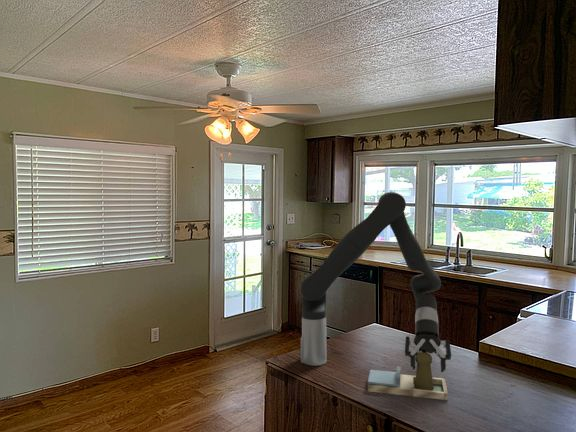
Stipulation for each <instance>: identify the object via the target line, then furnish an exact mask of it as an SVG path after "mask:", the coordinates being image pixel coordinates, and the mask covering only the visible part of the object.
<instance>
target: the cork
mask: <svg viewBox="0 0 576 432" xmlns="http://www.w3.org/2000/svg"><path fill="white" fill-rule="evenodd" d="M415 363H416V368H415V376H416V377H415V385H414V387H415V388H416V389H421V390H430V391H431V390H433V389H434V386H433V379H432V377H433V373H432V367H431V366H432V365H431V364H432V363H433V356H432V355H431V353H428V352H427V353H425V352H421V351H420V352H419V353H417V354H416V356H415Z"/></svg>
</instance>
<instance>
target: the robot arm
mask: <svg viewBox="0 0 576 432" xmlns="http://www.w3.org/2000/svg"><path fill="white" fill-rule="evenodd" d="M406 206H407V203H406V199H405V198H404V196H403V195H402V194H400V193H398V192H393V191H390V192H389V191H388V192H385V193H383V194H382V195H381V196H380V197H379V199H378V202H377V205H376V207H375V208H374V209H373V210H372V211H371V213H370V214H369V215H368V216H367V217H366V218H364V219H363V220H362V221H360V222H359V223H358V224H356V226H354V227H353V228H352V229H350V230H349V231H348V232H347V233H346V234H345V235H344V237H342V238H341V239H340V240H339V241H338V243H337V244H336V245H335V246H334V247H333V249H332V250H331V251H330V253H329V255H328V256H327V257H326V259H325V260H324V262H322V264H320V266H319V267H318V268H317V269H316V270H315V271H314V272H313V273H308V274H307V275H305V276H304V277H303V279H302V281H301V284H300V293H301V337H300V363H301V364H305V365H308V366H316V367H317V366H323V365H325V364H326V363H327V359H328V357H327V291H328V289H330V287H331V285H332V284H333V283H334V282H335V281H336V280H337V278H339V276H341V275H342V274H343V273H344V272H345V271H347V269H349V268H350V267H351V266H352V265H353V264H354V263H355V262H357V260H358V259H359V258H360V257H361V256H362V255H363V254H364V253H365V252H366V251H367V250H368V248H369V247H370V246H371V245H372V244H373V243H374V242H375V240H376V239H377V238H378V237H379V235H380V234H381V233H382V232H383V231H384V230H385V229H386V228H387V227H388V226H389V227H390V229H391V230H392V232H393V235H394V236H395V239H396V242H397V244H398V247H399V249H400V252H401V255H402V257H403V259H404V261H405V264H406V266H407V268H408V269H409V271H413V272H414V271H415V272H416V271H417V272H421V274H417V275H414V276H412V278H411V279H410V287H411V289H412V293H413V295H414V299H415V315H414V319H415V321H414V323H415V324H414V325H415V326H414V327H415V330H414V331H415V334H414V335H415V336H414V338H412V337H410V336H405V344H404V346H405V347H404V355H405V357H409V358H410V367H411V368H412V370H415V371H416V360H415V357H416V354H417V353H419V352H425V353H428V354H435V355H436V356H437V357H438V358H439V360H440V372H441V373H444V371H446V370H447V369H446V368H447V366H446V365H447V364H446V363H447V361H450V360H452V349H451V343H450V340H449V339H445V340H441V338H440V330H439V315H438V306H437V305H438V304H437V298H436V297H435V296H434V295H432V294H430V293H432V292H436V291H438V290H440V288H441V287H442V281H441V278H440V276H439V274H438V273H437V272H436V271H435V269H434V268H433V267H432V266H431V264H430V263H429V262H428V261H427V258H426V257H425V253H424V252H423V250H422V247H421V245H420V244H419V241H418V239H417V237H416V236H415V234H414V232H413V230H412V229H411V227H410V225H409V223H408V221H407V218H406V213H405V209H406ZM412 344H414V345H415V347H414V348H413V350H412V351H410V346H411V345H412ZM441 345H442V347H443V348H445V353H443V351H442V350H441V348H440V346H441Z"/></svg>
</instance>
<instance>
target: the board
mask: <svg viewBox="0 0 576 432" xmlns="http://www.w3.org/2000/svg"><path fill="white" fill-rule="evenodd" d="M415 377H416V375H413V374H412V375H409V374H403V373H402V374H401V378H400V387H398V386H388V385H379V384H369V383H368V382H367V392H369V393H370V392H371V393H379V394H390V395H396V396H397V395H398V396H407V397H416V398H424V399H433V400H434V399H435V400H442V401H448V400H449V399H448V398H449V394H448V393H449V392H448V388H447V384H446V383H447V382H446V379H445V378H443V377H433V376H432V379H433V386H434V389H433V390H431V391H430V390H421V389H416V388H415V387H414V385H415Z"/></svg>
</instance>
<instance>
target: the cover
mask: <svg viewBox="0 0 576 432" xmlns="http://www.w3.org/2000/svg"><path fill="white" fill-rule="evenodd" d="M401 367H402V366H399V365H397V366H396V371H390V370H389V371H388V370H387V371H386V370H379V369H378V370H377V369H370V370H369V375H368V379H367V384H368V383H369V384H379V385H388V386H398V387H400V378H401V369H402V368H401Z"/></svg>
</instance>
